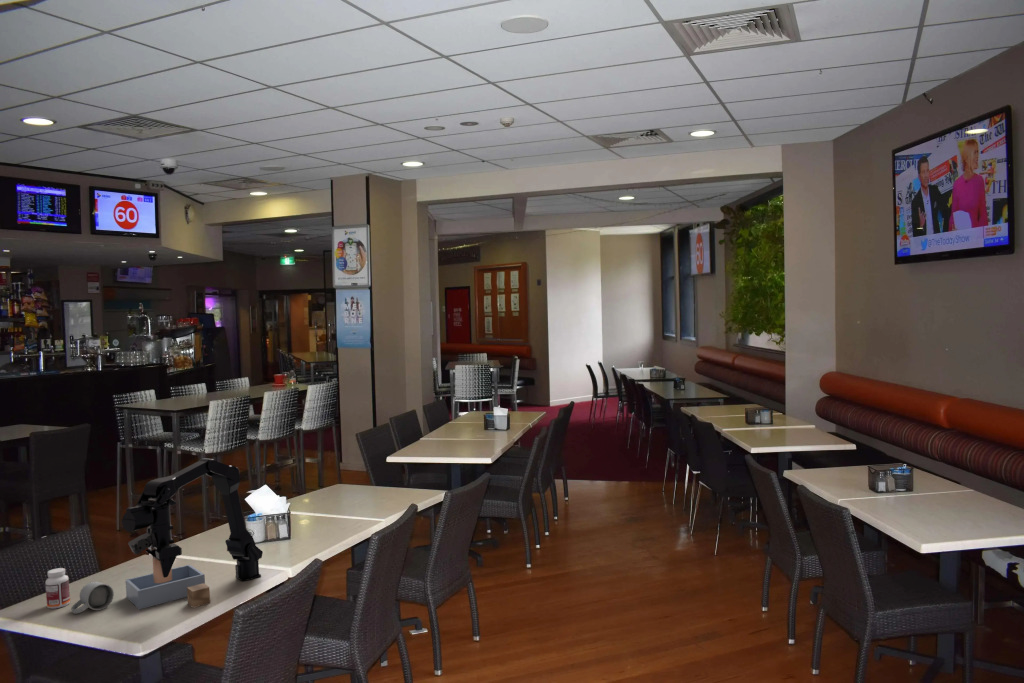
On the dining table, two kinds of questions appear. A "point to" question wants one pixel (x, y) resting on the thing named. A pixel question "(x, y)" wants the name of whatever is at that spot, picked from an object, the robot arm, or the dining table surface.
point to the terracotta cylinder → (160, 572)
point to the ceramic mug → (94, 597)
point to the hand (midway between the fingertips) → (162, 575)
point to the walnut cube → (198, 595)
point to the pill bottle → (57, 589)
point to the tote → (162, 587)
